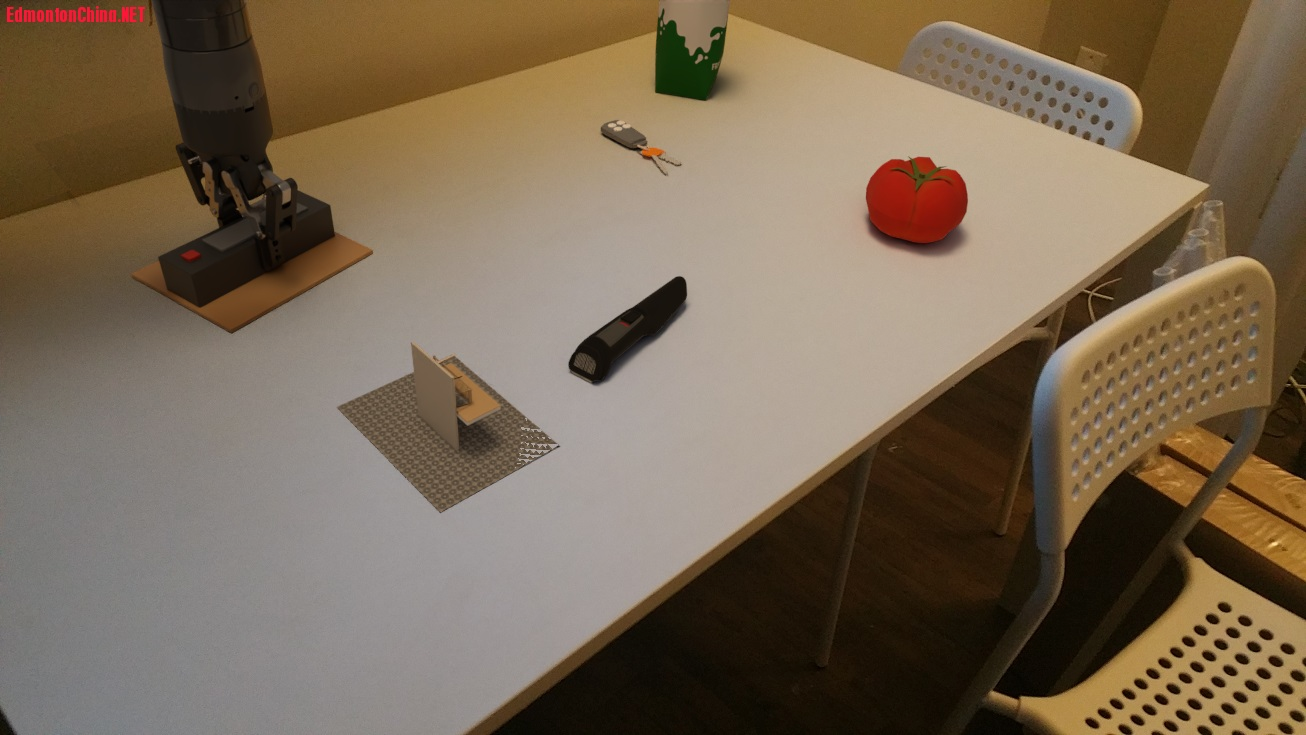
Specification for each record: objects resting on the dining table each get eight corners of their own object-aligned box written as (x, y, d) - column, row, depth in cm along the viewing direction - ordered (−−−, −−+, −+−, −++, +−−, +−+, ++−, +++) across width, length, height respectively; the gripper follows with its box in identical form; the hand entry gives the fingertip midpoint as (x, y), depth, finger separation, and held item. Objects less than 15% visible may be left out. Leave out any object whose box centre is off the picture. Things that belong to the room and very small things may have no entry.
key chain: (596, 134, 123) (597, 123, 122) (619, 127, 125) (620, 116, 124) (665, 176, 115) (666, 164, 114) (688, 168, 117) (690, 156, 116)
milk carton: (661, 69, 140) (673, -80, 127) (723, 80, 139) (742, -70, 126) (646, 93, 133) (658, -62, 120) (712, 104, 132) (730, -51, 119)
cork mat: (131, 277, 92) (130, 273, 92) (277, 207, 104) (276, 203, 104) (231, 333, 87) (230, 329, 87) (373, 253, 98) (372, 249, 98)
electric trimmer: (696, 309, 95) (699, 282, 93) (598, 387, 85) (600, 358, 83) (664, 295, 97) (667, 267, 95) (564, 369, 86) (565, 340, 84)
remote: (199, 308, 89) (190, 272, 86) (167, 289, 91) (156, 253, 88) (335, 236, 100) (330, 202, 97) (303, 221, 101) (297, 187, 99)
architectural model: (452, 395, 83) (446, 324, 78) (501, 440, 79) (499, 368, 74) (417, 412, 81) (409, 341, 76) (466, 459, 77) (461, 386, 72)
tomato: (972, 229, 111) (991, 169, 106) (927, 266, 104) (946, 204, 99) (888, 194, 116) (903, 136, 111) (840, 228, 109) (854, 167, 104)
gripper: (126, 78, 84) (173, 248, 95) (237, 127, 79) (274, 302, 90) (201, 53, 89) (237, 217, 100) (311, 98, 84) (337, 266, 95)
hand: (254, 256), depth 95 cm, fingers closed on remote, 4 cm apart
